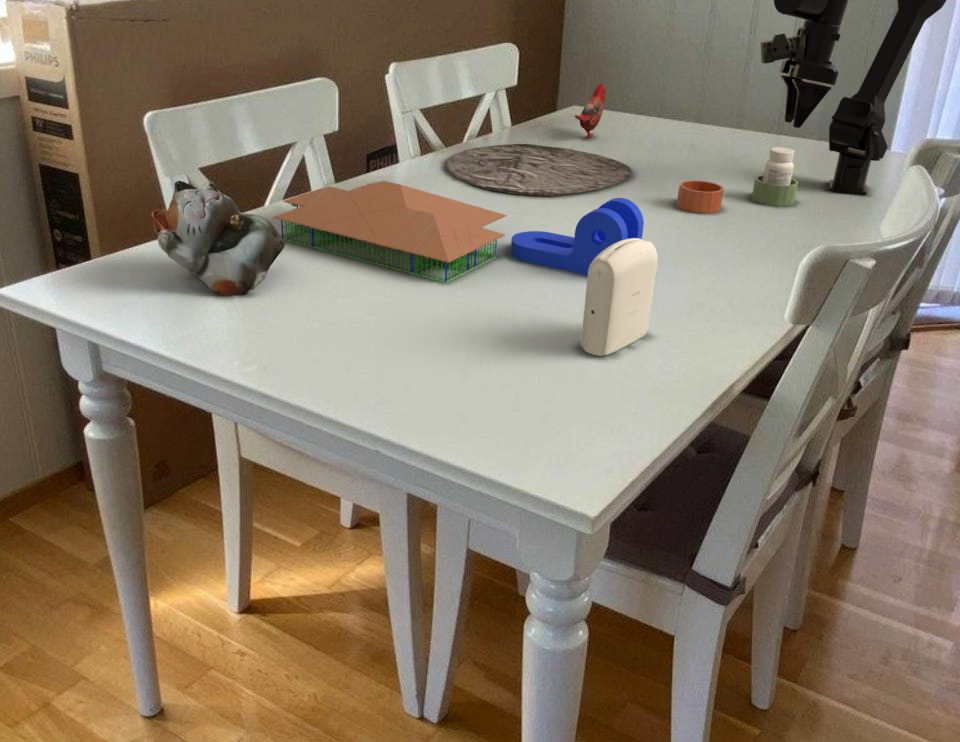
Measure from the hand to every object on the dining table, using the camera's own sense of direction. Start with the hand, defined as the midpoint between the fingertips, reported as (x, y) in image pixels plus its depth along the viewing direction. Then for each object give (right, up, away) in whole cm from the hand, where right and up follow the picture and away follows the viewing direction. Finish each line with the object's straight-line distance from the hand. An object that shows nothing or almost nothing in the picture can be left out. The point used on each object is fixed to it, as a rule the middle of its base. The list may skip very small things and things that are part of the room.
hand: (791, 124), depth 171 cm
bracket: (-39, -28, -24) cm, 54 cm away
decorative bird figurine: (-30, +12, +41) cm, 52 cm away
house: (-65, -24, -19) cm, 72 cm away
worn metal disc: (-42, -2, +18) cm, 46 cm away
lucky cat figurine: (-86, -34, -37) cm, 99 cm away
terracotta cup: (-15, -13, +3) cm, 20 cm away
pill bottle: (-1, -10, +8) cm, 13 cm away
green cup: (-1, -10, +8) cm, 13 cm away
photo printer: (-36, -44, -48) cm, 75 cm away
